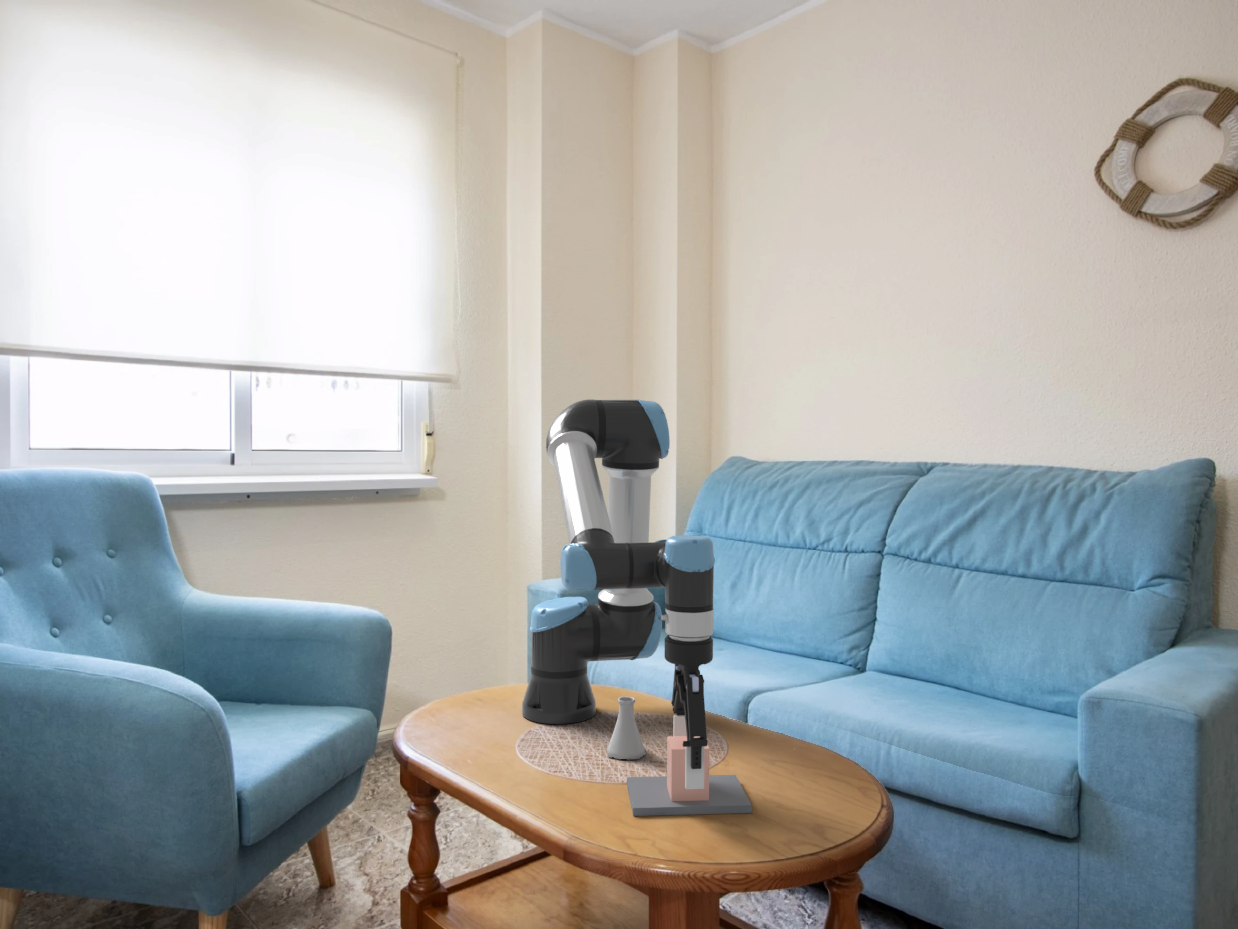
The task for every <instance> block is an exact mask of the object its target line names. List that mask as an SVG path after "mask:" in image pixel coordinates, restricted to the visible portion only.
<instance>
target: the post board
mask: <svg viewBox="0 0 1238 929" xmlns="http://www.w3.org/2000/svg"><path fill="white" fill-rule="evenodd" d="M626 786H627V791H628V792H627V793H628V797H629V798H628V799H629V802H630V807H631V812H632V816H633V817H640V816H641V817H642V816H643V817H644V816H646V817H647V816H650V817H651V816H683V815H684V816H685V815H718V814H719V815H721V814H722V815H723V814H724V815H725V814H751V813H752V810H753V809H752V803H751V801H750V799H749V797H748V795H747V794H746V792H745V790H744V788H743V786H742V784H741V782H740V781H739V779H738V777H737V775H736V774H711V775H710V774H709V800H702V801H671V798H670V795H669V791H668V788H667V775H666V776H665V775H664V776H663V775H662V776H661V775H660V776H659V775H658V776H657V775H656V776H627V777H626Z"/></svg>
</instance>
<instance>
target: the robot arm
mask: <svg viewBox="0 0 1238 929" xmlns="http://www.w3.org/2000/svg"><path fill="white" fill-rule="evenodd" d="M670 441H671V440H670V430H669V425H668V420H667V416H666V413H665V410H664V409H663V407H662V406H661V405H660V404H659V403H658V402H656V401H653V400H652V401H651V400H644V399H643V400H642V399H583V400H579V401H576V402H574V403H571V404H570V405H569V406H567V407H566V408H565V409H563V410H562V411H561V412H560V413H558V415H557V416H556V418H554V420H553V422H552V423H551V425H550V427H549V429H548V432H547V436H546V439H545V442H546V443H545V449H546V455H547V459H548V461H549V463H550V465H551V466H552V467H553V468H554V470H555V474H556V480H557V485H558V490H559V495H560V500H561V506H562V512H563V518H564V522H565V527H566V528H565V529H566V532H567V537H568V544H564V546H562V548H561V551H560V565H559V569H560V577H561V579H560V580H561V582H562V585H563V587H564V588H565V589H567V590H570V591H571V590H572V591H588V592H591V591H599V590H600V591H599V592H598V595H597V603H592V604H590V603H589V601H588V599H587V598H586V597H583V596H564V597H563V596H562V597H558V598H554V599H548V600H545V601H542V602H539V603H538V604H536V605H535V606H534V608H532V611H531V615H530V616H531V617H530V618H531V620H530V627H529V630H530V638H531V639H530V678H529V682H528V684H527V687H526V690H525V693H524V696H523V700H522V704H521V706H522V707H521V712H522V713H521V714H522V716H523V717H524V718H525V719H526V720H529V721H531V722H535V723H540V724H546V725H547V724H549V725H564V724H565V725H566V724H567V725H568V724H575V723H579V722H584V721H586V720H589V719H591V718H593V717H594V716H595V715H596V711H597V709H596V708H597V706H596V705H597V702H596V699H595V698H596V697H595V695H594V693H593V689H592V686H591V683H590V679H589V676H588V663H589V662H602V661H604V662H606V661H623V660H624V661H625V660H626V661H627V660H629V661H636V660H637V659H638V660H639V659H648V658H650V657H652V656H653V655H654V654H655V652H656V651H657V649H658V648H659V645H660V641H661V637H662V631H663V621H664V631H665V632H664V633H666V636H665V637H664V660H666V662H668V663H670V664H673V665H674V674H673V684H672V685H673V686H672V696H671V697H672V698H671V701H670V702H671V704H670V705H672V712H673V716H672V717H673V723H672V724H673V728H672V729H673V730H672V731H673V734H672V735H673V736H687V741H683V747H686V761H685V788H686V789H704V746H707V745H708V737H707V734H708V733H707V719H706V709H705V708H706V707H705V692H704V691H705V690H704V689H705V688H704V686H705V679H704V675H703V674H701V671H700V669H699V667H701V666H702V665H708V664H709V663H711V662H712V661H713V658H714V639H713V638H712V637H711V636H712V635H713V634H714V612H715V611H714V609H715V608H714V576H715V575H714V572H715V570H714V569H715V568H714V566H715V562H716V560H715V556H714V542H713V540H712V539H711V538H709V537H707V536H704V535H703V536H702V535H691V534H689V535H688V534H685V535H684V534H679V535H671V536H670V537H668V538H666V539H659V540H656V541H654V542H650V541H649V538H650V515H651V493H652V492H651V489H652V488H651V487H652V485H651V484H652V475H654V474H655V473H656V472H657V470H658V469H659V468H660V459H661V460H663V459H665V458H667V457H668V455H669V450H670ZM596 459H601V467H602V468H603V469H604V471H606V473H607V474H608V500H607V502H608V503H607V505H606V501H605V497H604V492H603V489H602V485H601V481H600V477H599V473H598V469H597V465H596ZM658 588H659V589H660V588H661V589H663V588H664V609H665V614H662V608H661V606H660V605H659V603H658V602H656V601H654V595H653V593H652V592H651V591H649V589H658ZM695 736H700V738H694V737H695Z"/></svg>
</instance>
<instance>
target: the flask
mask: <svg viewBox="0 0 1238 929" xmlns="http://www.w3.org/2000/svg"><path fill="white" fill-rule="evenodd" d="M617 701H618V715H617V720H616V723H615V725H614V728H613V732H612V735H611V737H610V741H609V742H608V745H607V747H606V754H607V757H608V756H609V758H612V757H614V759H617V760H621V759H627V760H639V759H641V758H642V757H644V756H645V755H646V754H647V753H646V750H645V746H644V743H643V740H642V738H641V735H640V734H641V733H640V732H639V729H638V725H637V721H636V717H635V711H634V710H635V709H634V704H635V703H636V698H635V697H633V696H619V697H618V698H617ZM643 755H644V756H643ZM640 757H641V758H640Z"/></svg>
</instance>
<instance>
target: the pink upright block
mask: <svg viewBox="0 0 1238 929" xmlns="http://www.w3.org/2000/svg"><path fill="white" fill-rule="evenodd" d="M694 738H700V736H695V737H694ZM683 741H687V736H672V735H671V736H667V737H666V744H667V745H666V776H667V788H668V791H669V795H670V798H671V801H702V800H709V775H710V747H709V745H708V744H707V746H704V789H686V788H685V761H686V747H683Z"/></svg>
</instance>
